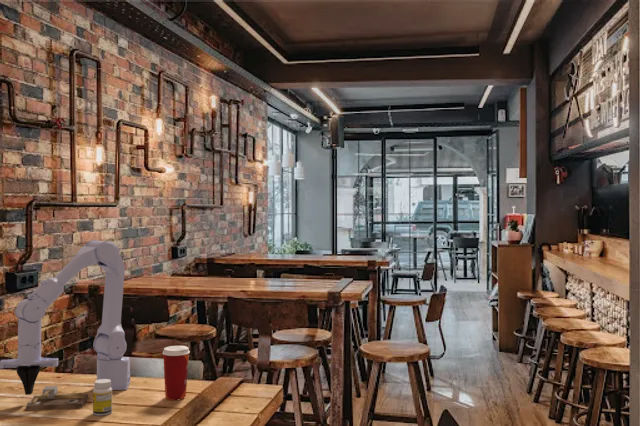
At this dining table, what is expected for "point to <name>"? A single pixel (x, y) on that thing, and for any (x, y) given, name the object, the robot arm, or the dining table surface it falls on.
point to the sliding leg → (49, 392)
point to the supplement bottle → (102, 397)
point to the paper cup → (175, 371)
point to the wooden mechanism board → (58, 401)
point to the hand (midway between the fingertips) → (28, 393)
